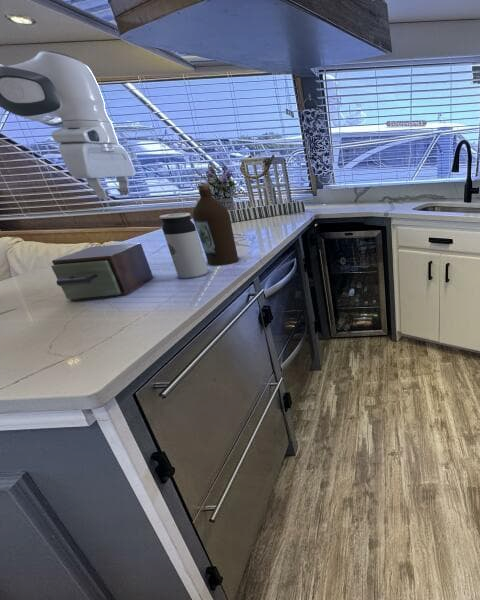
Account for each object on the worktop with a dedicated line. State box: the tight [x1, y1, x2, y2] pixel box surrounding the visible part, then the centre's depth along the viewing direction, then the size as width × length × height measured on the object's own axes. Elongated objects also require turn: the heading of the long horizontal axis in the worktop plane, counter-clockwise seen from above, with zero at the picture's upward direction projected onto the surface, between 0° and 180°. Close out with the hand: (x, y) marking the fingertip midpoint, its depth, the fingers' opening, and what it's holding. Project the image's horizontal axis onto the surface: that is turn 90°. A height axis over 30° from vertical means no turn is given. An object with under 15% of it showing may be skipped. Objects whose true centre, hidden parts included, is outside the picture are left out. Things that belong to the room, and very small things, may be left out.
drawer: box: [50, 259, 121, 300], centre depth 84 cm, size 18×11×9 cm, turn 12°
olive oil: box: [192, 184, 239, 266], centre depth 106 cm, size 11×11×25 cm
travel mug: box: [159, 212, 209, 279], centre depth 95 cm, size 8×8×18 cm
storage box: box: [51, 242, 154, 301], centre depth 88 cm, size 15×13×11 cm
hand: (115, 196), depth 82 cm, fingers open, 8 cm apart
